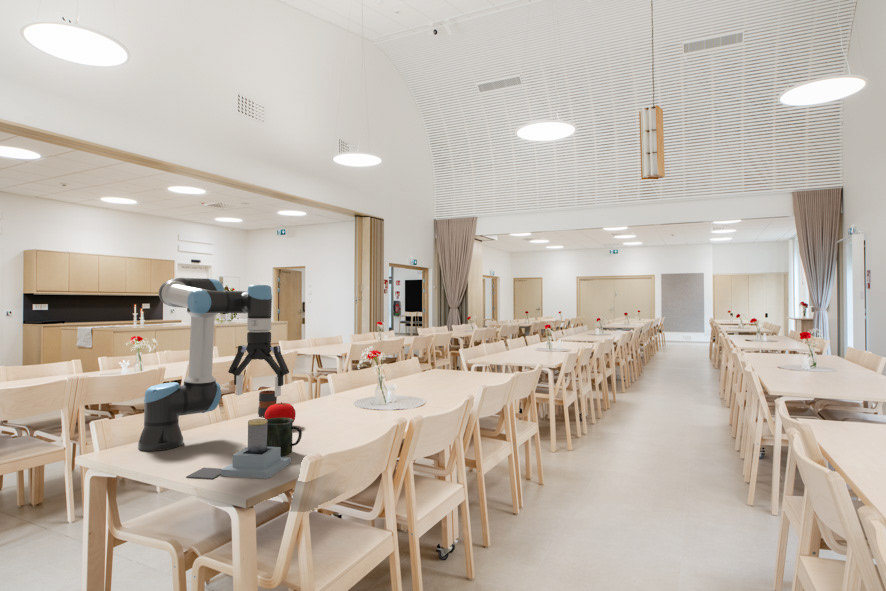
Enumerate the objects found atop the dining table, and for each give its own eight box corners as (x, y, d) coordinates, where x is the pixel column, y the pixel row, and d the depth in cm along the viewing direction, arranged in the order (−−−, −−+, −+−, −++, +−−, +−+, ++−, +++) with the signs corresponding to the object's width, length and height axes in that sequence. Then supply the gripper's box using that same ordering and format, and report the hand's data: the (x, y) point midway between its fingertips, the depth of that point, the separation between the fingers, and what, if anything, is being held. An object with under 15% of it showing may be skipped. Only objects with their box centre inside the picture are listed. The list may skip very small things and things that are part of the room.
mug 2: (283, 412, 257) (283, 389, 257) (270, 417, 245) (270, 393, 246) (268, 411, 259) (268, 388, 259) (254, 416, 247) (254, 392, 248)
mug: (269, 448, 193) (269, 417, 193) (306, 450, 191) (307, 418, 192) (255, 457, 182) (256, 423, 182) (295, 459, 181) (295, 424, 181)
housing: (220, 475, 162) (221, 456, 162) (247, 460, 178) (247, 443, 178) (268, 478, 160) (268, 459, 160) (290, 463, 176) (290, 445, 176)
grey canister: (243, 465, 166) (244, 422, 167) (253, 459, 172) (253, 418, 173) (261, 466, 166) (261, 423, 166) (270, 460, 172) (270, 419, 172)
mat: (186, 477, 160) (186, 476, 160) (203, 468, 169) (203, 467, 169) (212, 479, 159) (212, 478, 159) (228, 470, 168) (228, 469, 168)
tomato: (288, 431, 220) (288, 405, 220) (259, 429, 222) (260, 404, 222) (300, 424, 232) (300, 400, 232) (273, 423, 234) (273, 399, 234)
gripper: (218, 331, 168) (217, 396, 167) (289, 332, 164) (289, 398, 164) (230, 330, 175) (229, 392, 175) (299, 331, 172) (298, 394, 171)
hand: (258, 395), depth 169 cm, fingers open, 13 cm apart
